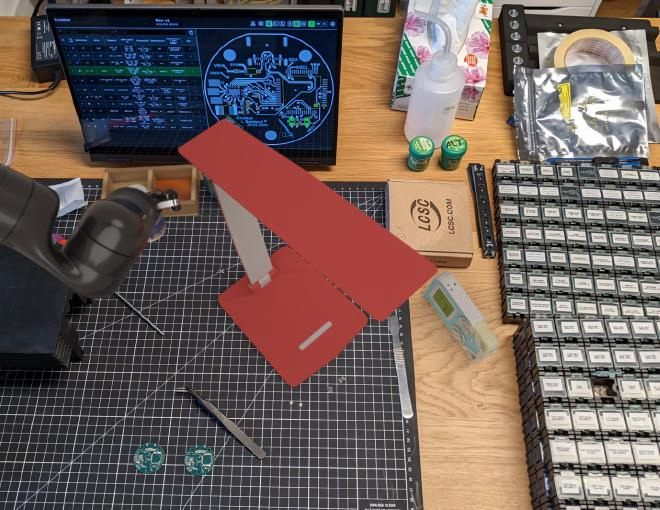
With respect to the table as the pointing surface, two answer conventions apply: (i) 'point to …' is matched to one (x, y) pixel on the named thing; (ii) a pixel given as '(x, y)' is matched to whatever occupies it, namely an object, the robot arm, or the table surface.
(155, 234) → the pill bottle
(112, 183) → the wooden box
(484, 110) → the table surface
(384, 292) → the desk lamp
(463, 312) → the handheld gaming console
